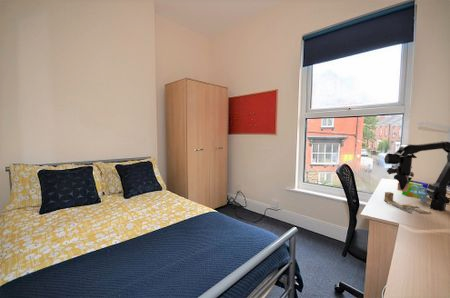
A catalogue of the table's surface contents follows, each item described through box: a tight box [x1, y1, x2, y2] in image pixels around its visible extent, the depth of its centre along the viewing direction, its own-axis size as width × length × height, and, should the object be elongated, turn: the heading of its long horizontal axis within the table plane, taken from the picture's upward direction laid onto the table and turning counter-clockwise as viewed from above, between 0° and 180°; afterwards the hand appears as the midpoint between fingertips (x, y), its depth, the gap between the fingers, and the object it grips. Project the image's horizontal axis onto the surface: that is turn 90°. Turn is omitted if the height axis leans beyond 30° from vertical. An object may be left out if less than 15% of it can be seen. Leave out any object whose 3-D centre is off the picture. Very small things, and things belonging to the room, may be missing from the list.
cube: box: [397, 182, 409, 192], centre depth 128 cm, size 4×4×4 cm
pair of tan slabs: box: [404, 203, 431, 214], centre depth 124 cm, size 5×11×1 cm, turn 4°
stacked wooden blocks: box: [383, 191, 410, 210], centre depth 130 cm, size 5×13×6 cm, turn 4°
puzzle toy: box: [401, 179, 429, 200], centre depth 151 cm, size 10×10×10 cm
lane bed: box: [391, 203, 432, 214], centre depth 128 cm, size 13×20×2 cm, turn 4°
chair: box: [410, 185, 429, 203], centre depth 137 cm, size 8×8×12 cm
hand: (402, 188), depth 128 cm, fingers closed on cube, 4 cm apart
